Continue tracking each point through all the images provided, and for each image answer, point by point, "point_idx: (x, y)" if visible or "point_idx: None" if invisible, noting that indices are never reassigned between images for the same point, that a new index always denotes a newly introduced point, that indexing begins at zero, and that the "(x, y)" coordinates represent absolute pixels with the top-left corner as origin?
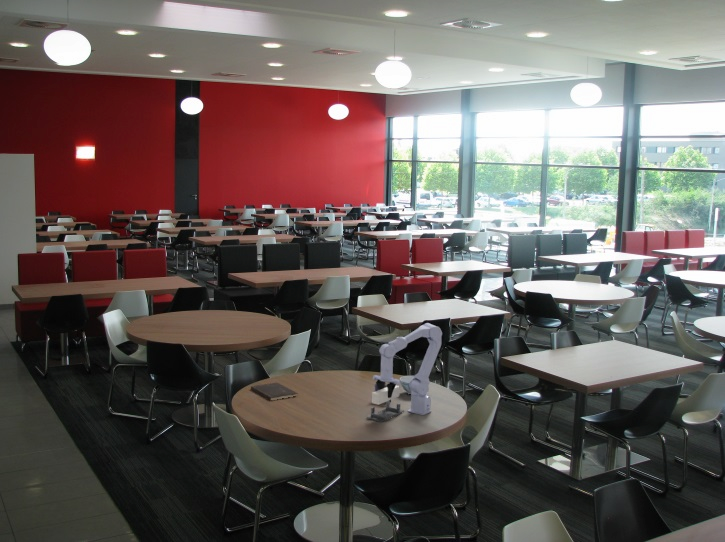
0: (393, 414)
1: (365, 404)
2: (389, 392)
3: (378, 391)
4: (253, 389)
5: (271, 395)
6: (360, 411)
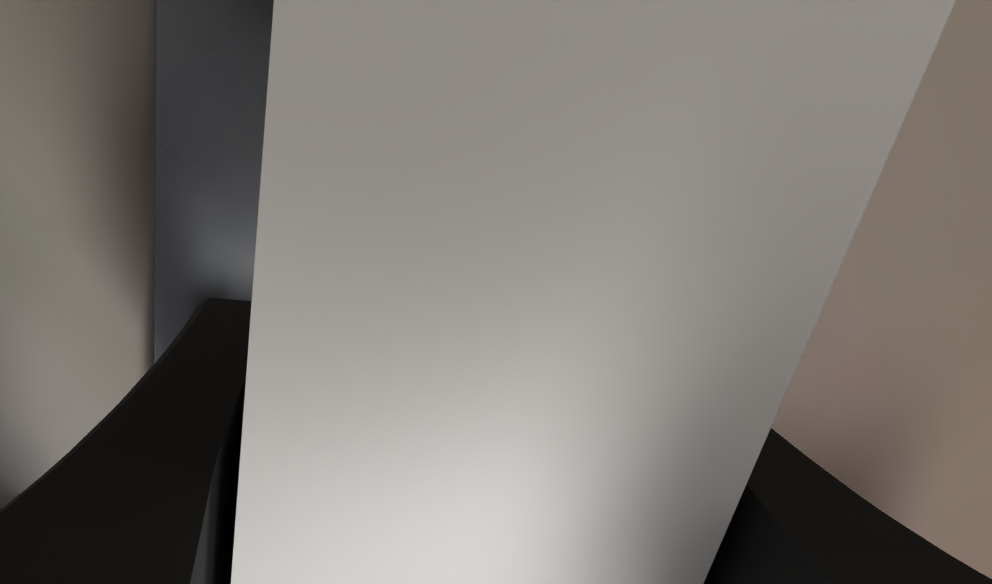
0: (187, 171)
1: (949, 441)
2: (92, 430)
3: (758, 73)
4: None
5: None
6: (980, 49)
